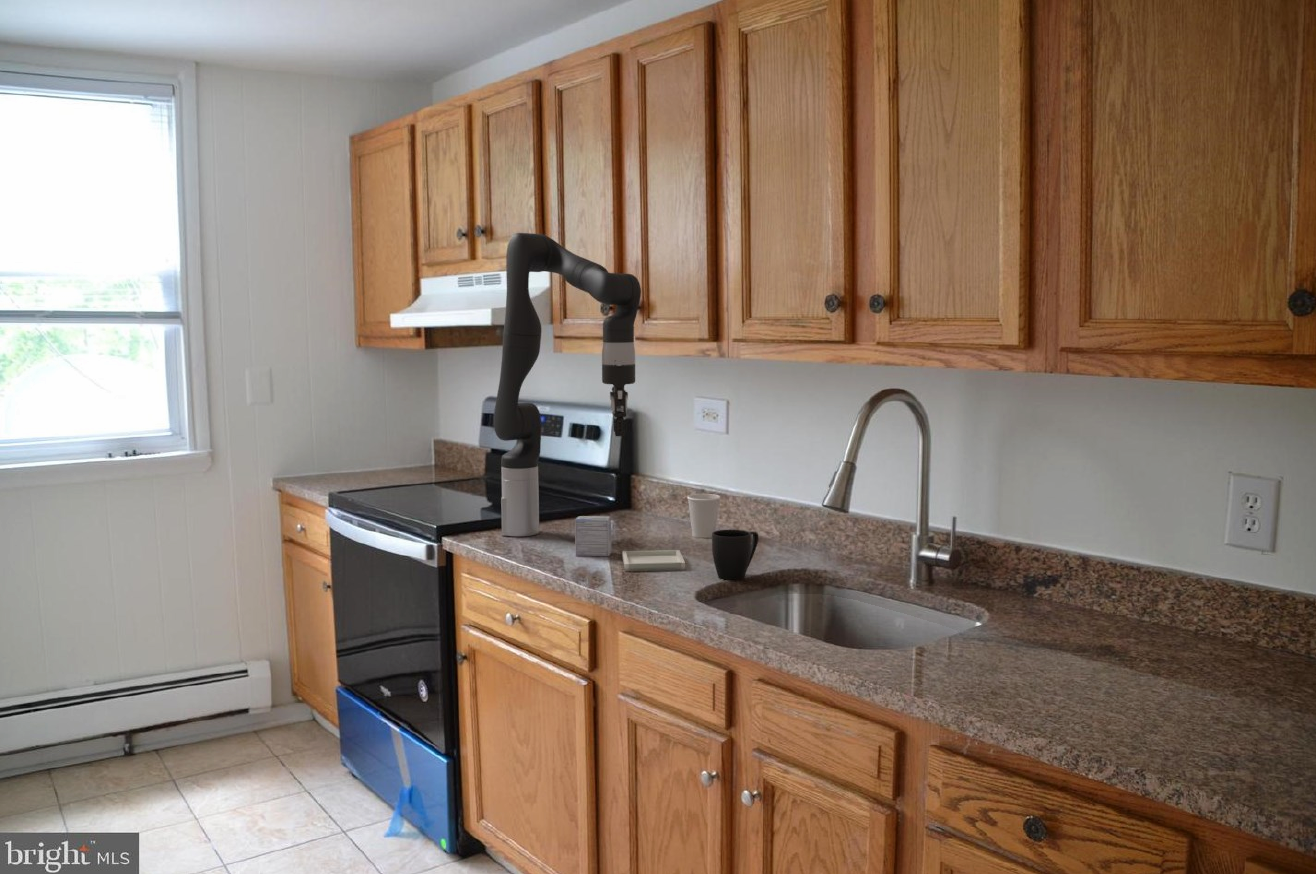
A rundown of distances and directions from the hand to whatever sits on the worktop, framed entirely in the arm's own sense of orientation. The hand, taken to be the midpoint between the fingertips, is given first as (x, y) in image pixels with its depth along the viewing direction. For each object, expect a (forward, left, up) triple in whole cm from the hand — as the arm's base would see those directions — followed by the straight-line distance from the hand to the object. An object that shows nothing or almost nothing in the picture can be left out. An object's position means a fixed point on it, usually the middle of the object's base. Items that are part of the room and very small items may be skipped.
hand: (619, 434), depth 241 cm
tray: (+7, -9, -28) cm, 30 cm away
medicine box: (-6, +2, -28) cm, 29 cm away
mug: (+24, -22, -28) cm, 43 cm away
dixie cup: (+22, +21, -28) cm, 42 cm away
